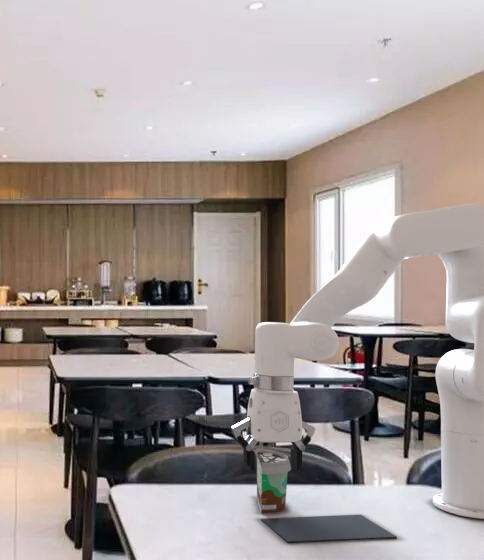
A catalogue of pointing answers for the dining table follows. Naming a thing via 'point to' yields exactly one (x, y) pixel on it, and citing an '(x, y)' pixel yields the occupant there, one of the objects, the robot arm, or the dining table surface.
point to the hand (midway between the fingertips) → (272, 469)
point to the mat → (326, 528)
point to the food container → (271, 480)
